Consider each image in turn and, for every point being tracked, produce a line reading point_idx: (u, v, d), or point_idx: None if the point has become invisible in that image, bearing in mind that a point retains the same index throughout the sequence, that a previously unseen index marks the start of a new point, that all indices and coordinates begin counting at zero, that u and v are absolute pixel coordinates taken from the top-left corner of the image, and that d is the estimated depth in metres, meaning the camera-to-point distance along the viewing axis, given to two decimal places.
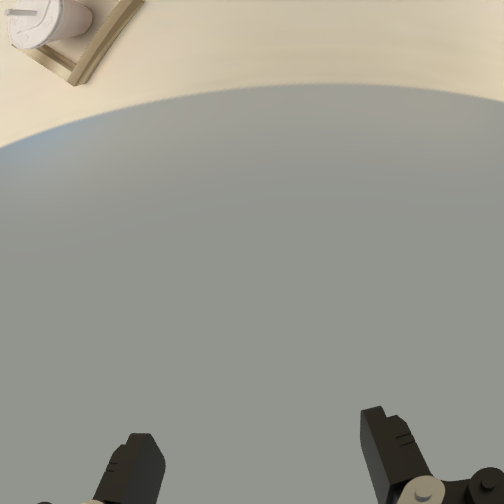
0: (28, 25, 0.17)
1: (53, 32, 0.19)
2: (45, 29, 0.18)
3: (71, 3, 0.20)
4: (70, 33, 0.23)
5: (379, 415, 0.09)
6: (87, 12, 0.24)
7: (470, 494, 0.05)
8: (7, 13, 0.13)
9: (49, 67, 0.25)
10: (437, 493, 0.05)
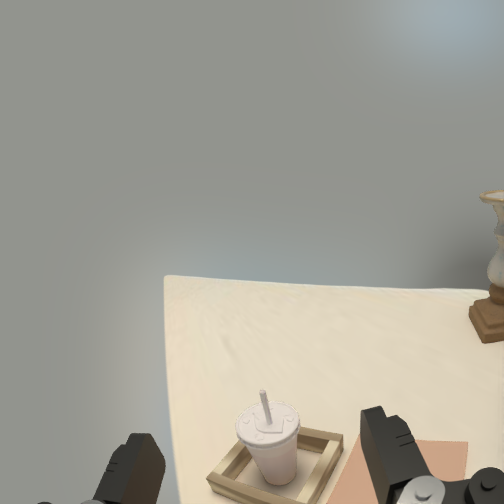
0: (258, 421, 0.29)
1: (249, 445, 0.27)
2: (251, 436, 0.27)
3: (286, 456, 0.27)
4: (258, 465, 0.29)
5: (379, 415, 0.09)
6: (285, 477, 0.29)
7: (470, 494, 0.05)
8: (260, 392, 0.27)
9: (228, 454, 0.32)
10: (437, 493, 0.05)
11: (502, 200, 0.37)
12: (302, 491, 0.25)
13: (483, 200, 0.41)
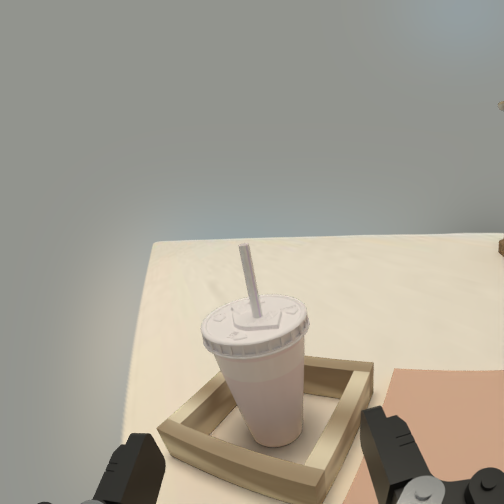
0: (239, 317, 0.19)
1: (220, 354, 0.17)
2: (225, 336, 0.17)
3: (287, 382, 0.17)
4: (240, 406, 0.19)
5: (379, 415, 0.09)
6: (285, 431, 0.19)
7: (470, 494, 0.05)
8: (240, 245, 0.17)
9: (196, 395, 0.22)
10: (437, 493, 0.05)
11: None
12: (316, 449, 0.15)
13: (503, 105, 0.31)
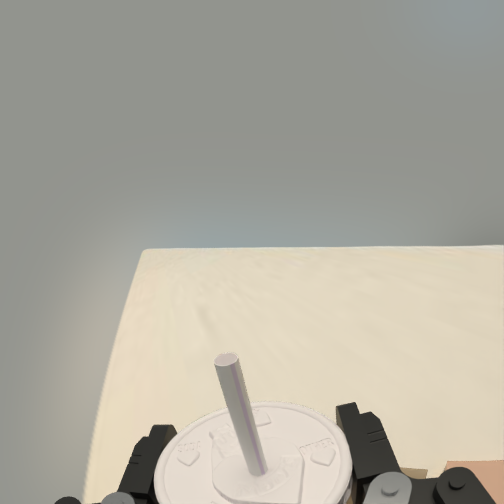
0: (224, 460, 0.09)
1: None
2: None
3: None
4: None
5: (352, 411, 0.10)
6: None
7: (439, 495, 0.05)
8: (219, 363, 0.07)
9: None
10: (403, 489, 0.06)
11: None
12: None
13: None
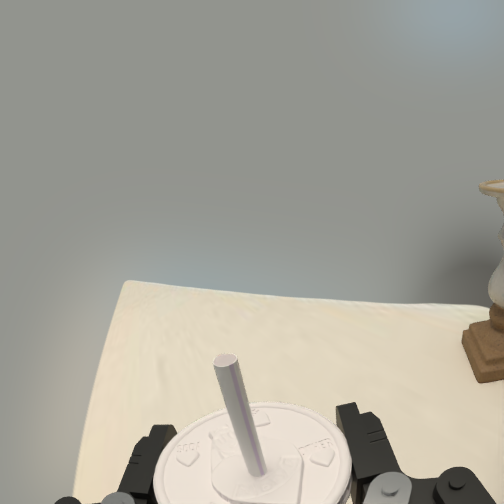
0: (223, 460, 0.09)
1: None
2: None
3: None
4: None
5: (352, 411, 0.10)
6: None
7: (439, 495, 0.05)
8: (218, 363, 0.07)
9: None
10: (403, 490, 0.06)
11: None
12: None
13: (484, 191, 0.29)
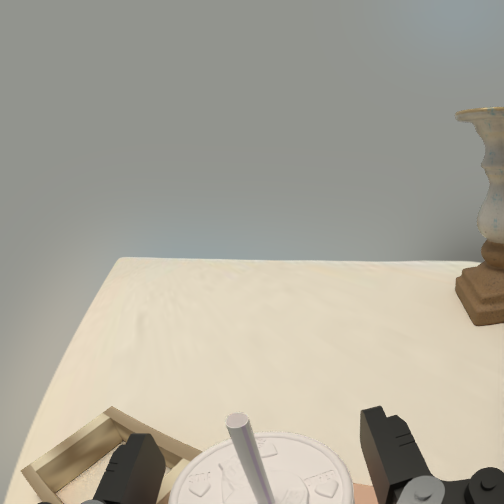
0: (233, 491, 0.09)
1: None
2: None
3: None
4: None
5: (379, 415, 0.09)
6: None
7: (470, 494, 0.05)
8: (230, 424, 0.07)
9: (55, 448, 0.19)
10: (437, 493, 0.05)
11: (485, 109, 0.24)
12: None
13: (459, 116, 0.28)
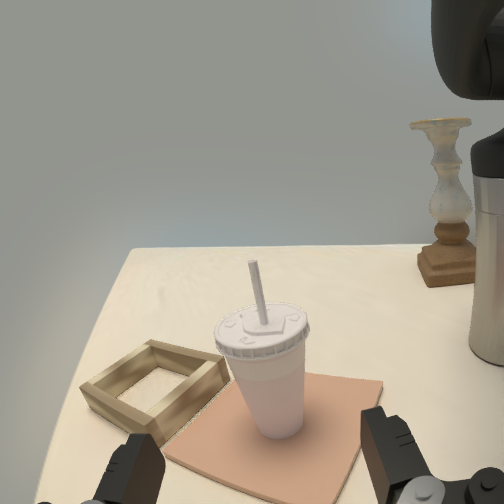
0: (248, 323, 0.21)
1: (232, 356, 0.19)
2: (236, 341, 0.19)
3: (290, 381, 0.20)
4: (248, 402, 0.21)
5: (379, 415, 0.09)
6: (288, 424, 0.21)
7: (470, 494, 0.05)
8: (250, 262, 0.20)
9: (108, 368, 0.32)
10: (437, 493, 0.05)
11: (429, 120, 0.37)
12: (156, 405, 0.25)
13: (411, 126, 0.41)
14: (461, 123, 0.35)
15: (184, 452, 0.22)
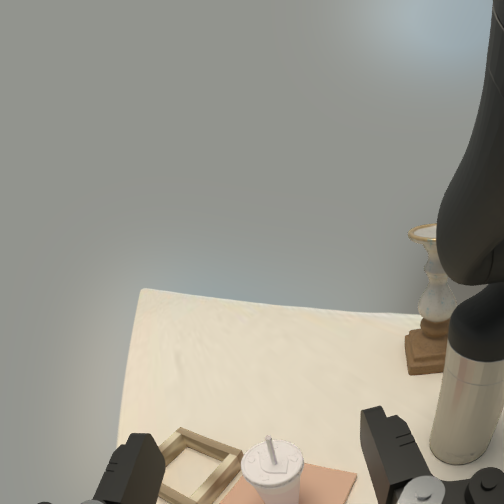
0: (263, 460, 0.28)
1: (254, 484, 0.25)
2: (257, 476, 0.26)
3: (290, 492, 0.26)
4: (263, 499, 0.27)
5: (379, 415, 0.09)
6: None
7: (470, 494, 0.05)
8: (266, 438, 0.26)
9: None
10: (437, 493, 0.05)
11: (426, 239, 0.43)
12: (196, 491, 0.31)
13: (409, 237, 0.47)
14: None
15: None
